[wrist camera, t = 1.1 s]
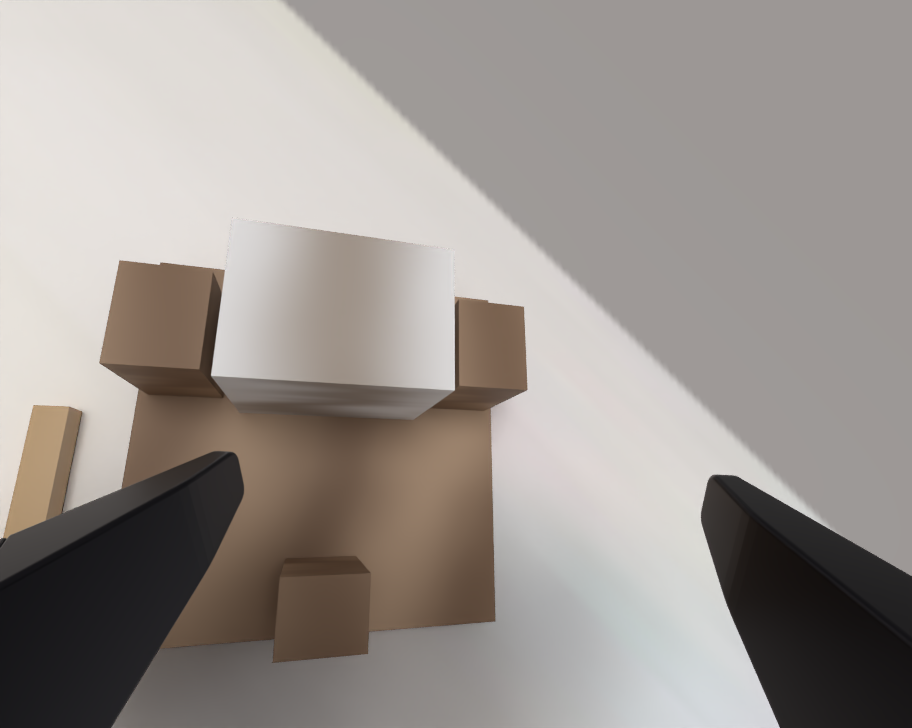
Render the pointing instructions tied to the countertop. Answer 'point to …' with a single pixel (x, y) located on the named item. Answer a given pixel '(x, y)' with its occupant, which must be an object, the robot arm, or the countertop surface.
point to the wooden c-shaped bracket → (43, 467)
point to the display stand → (324, 430)
